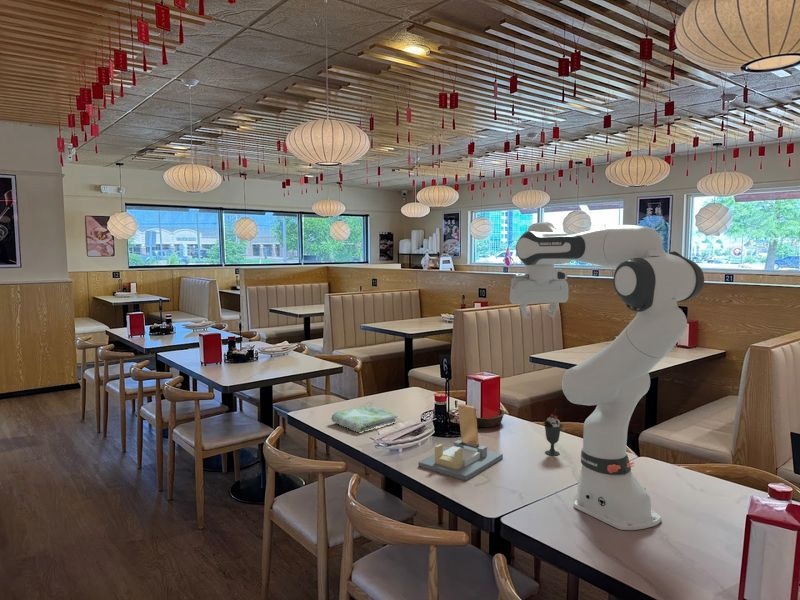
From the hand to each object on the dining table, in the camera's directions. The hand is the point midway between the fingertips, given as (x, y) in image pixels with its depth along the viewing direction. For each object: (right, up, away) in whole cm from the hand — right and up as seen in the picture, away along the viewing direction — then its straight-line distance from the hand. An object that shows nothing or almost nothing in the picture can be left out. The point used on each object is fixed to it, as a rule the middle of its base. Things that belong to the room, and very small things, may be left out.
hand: (538, 317), depth 173 cm
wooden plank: (-21, -43, +9) cm, 49 cm away
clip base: (-24, -48, +5) cm, 54 cm away
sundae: (+8, -47, +12) cm, 50 cm away
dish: (-11, -45, +47) cm, 66 cm away
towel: (-59, -45, +47) cm, 88 cm away
